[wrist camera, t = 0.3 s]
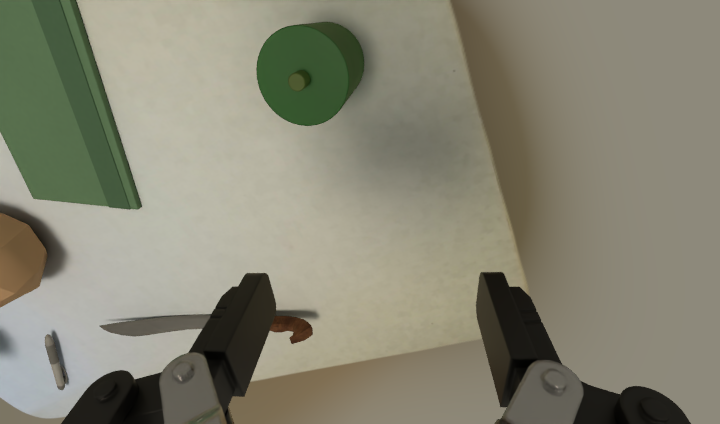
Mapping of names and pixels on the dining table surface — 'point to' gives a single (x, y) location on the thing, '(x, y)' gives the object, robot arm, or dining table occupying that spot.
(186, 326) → the knife
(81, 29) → the towel
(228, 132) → the dining table surface
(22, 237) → the squash
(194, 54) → the dining table surface
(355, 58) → the green knobbed canister
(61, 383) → the pen
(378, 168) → the dining table surface
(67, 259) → the dining table surface
